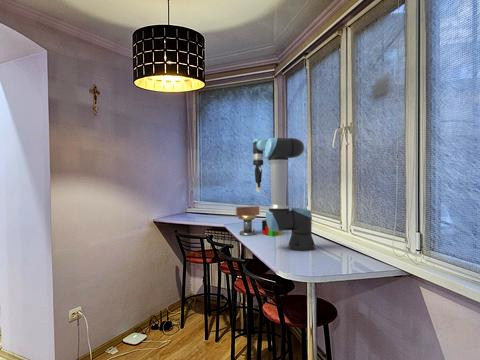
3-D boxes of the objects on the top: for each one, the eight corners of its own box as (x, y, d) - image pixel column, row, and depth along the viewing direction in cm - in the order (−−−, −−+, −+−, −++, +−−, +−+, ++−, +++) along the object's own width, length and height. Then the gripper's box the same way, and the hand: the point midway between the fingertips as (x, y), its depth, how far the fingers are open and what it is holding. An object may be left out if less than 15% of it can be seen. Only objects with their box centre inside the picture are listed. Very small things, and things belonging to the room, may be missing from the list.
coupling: (238, 220, 217) (238, 208, 217) (234, 218, 226) (234, 206, 226) (261, 219, 223) (261, 207, 223) (255, 217, 232) (255, 205, 232)
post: (257, 235, 220) (257, 220, 220) (241, 236, 218) (241, 221, 218) (253, 232, 232) (253, 218, 232) (237, 233, 230) (237, 218, 229)
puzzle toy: (271, 232, 231) (271, 219, 231) (281, 234, 224) (281, 220, 224) (262, 234, 225) (262, 220, 225) (272, 236, 217) (272, 222, 217)
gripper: (265, 159, 225) (265, 192, 225) (260, 160, 237) (260, 191, 237) (255, 159, 223) (255, 192, 223) (251, 160, 236) (251, 191, 236)
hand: (258, 191), depth 230 cm, fingers closed
